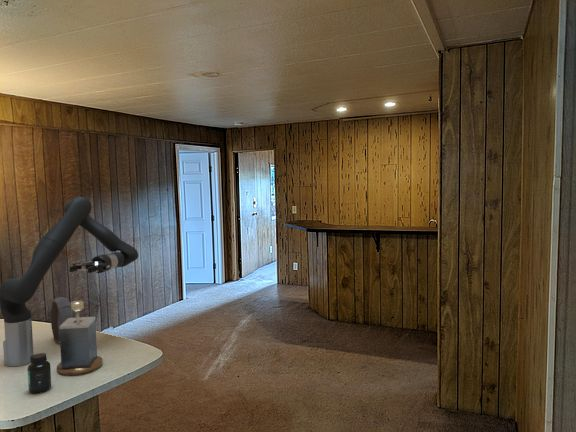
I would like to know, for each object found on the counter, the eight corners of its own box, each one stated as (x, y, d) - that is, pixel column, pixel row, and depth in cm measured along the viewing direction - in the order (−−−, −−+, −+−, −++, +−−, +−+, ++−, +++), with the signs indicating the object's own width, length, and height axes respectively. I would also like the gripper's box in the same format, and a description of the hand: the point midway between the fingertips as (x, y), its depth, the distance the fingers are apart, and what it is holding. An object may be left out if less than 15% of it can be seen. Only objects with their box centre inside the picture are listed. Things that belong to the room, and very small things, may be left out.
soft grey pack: (50, 338, 201) (48, 295, 199) (70, 333, 206) (68, 291, 204) (60, 347, 189) (57, 301, 188) (80, 342, 195) (78, 298, 193)
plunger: (67, 363, 165) (64, 305, 163) (73, 356, 172) (70, 300, 170) (86, 362, 166) (83, 304, 164) (91, 355, 173) (89, 299, 171)
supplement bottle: (26, 395, 147) (24, 360, 146) (31, 386, 154) (29, 353, 153) (48, 392, 149) (47, 358, 148) (53, 383, 156) (51, 350, 155)
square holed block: (50, 377, 160) (47, 329, 159) (65, 359, 176) (62, 316, 174) (96, 374, 163) (94, 327, 161) (107, 357, 178) (105, 313, 177)
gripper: (90, 253, 195) (63, 260, 179) (118, 254, 191) (94, 261, 175) (91, 270, 195) (64, 278, 179) (119, 271, 192) (95, 280, 176)
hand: (79, 270), depth 177 cm, fingers open, 8 cm apart
